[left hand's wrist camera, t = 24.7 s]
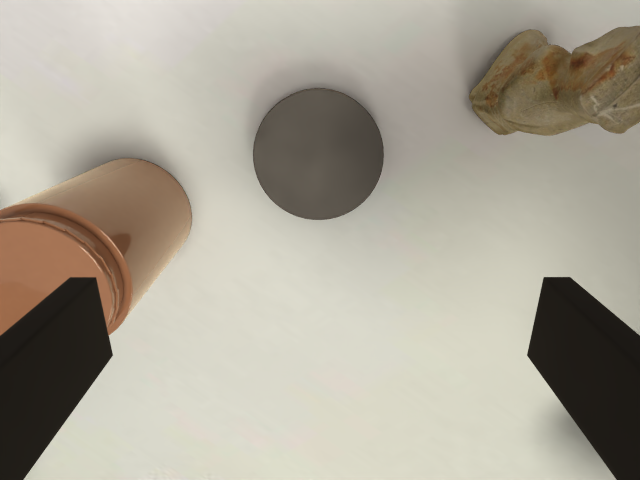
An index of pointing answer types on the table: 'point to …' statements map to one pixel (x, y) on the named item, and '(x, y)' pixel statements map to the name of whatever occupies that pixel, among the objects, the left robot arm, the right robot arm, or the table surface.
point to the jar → (92, 237)
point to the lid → (318, 154)
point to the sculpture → (562, 85)
